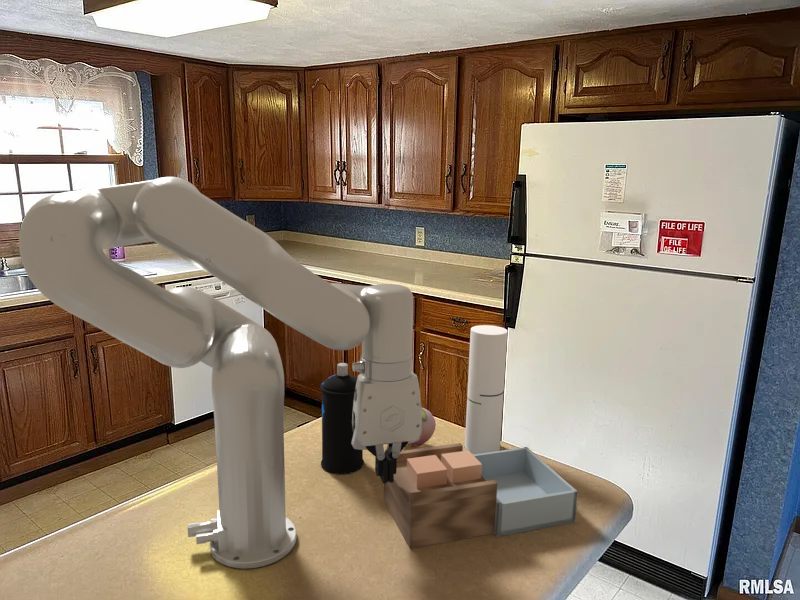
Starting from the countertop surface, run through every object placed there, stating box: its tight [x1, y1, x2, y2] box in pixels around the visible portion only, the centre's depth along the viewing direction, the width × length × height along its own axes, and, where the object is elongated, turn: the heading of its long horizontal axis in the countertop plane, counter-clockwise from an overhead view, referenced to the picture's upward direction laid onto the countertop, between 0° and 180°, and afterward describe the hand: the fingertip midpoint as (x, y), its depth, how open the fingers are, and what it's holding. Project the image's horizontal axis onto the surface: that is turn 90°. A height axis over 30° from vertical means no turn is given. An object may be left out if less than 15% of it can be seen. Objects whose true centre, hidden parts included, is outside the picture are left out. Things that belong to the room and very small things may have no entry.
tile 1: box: [406, 455, 447, 488], centre depth 94 cm, size 5×5×2 cm
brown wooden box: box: [382, 442, 497, 550], centre depth 95 cm, size 14×14×9 cm
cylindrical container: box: [464, 324, 508, 454], centre depth 118 cm, size 7×7×25 cm
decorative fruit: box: [406, 407, 437, 448], centre depth 119 cm, size 9×8×10 cm
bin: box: [472, 446, 579, 538], centre depth 100 cm, size 14×16×6 cm
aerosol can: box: [319, 362, 365, 475], centre depth 110 cm, size 8×8×20 cm
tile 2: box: [441, 450, 482, 483], centre depth 96 cm, size 5×5×2 cm
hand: (385, 478), depth 92 cm, fingers closed
